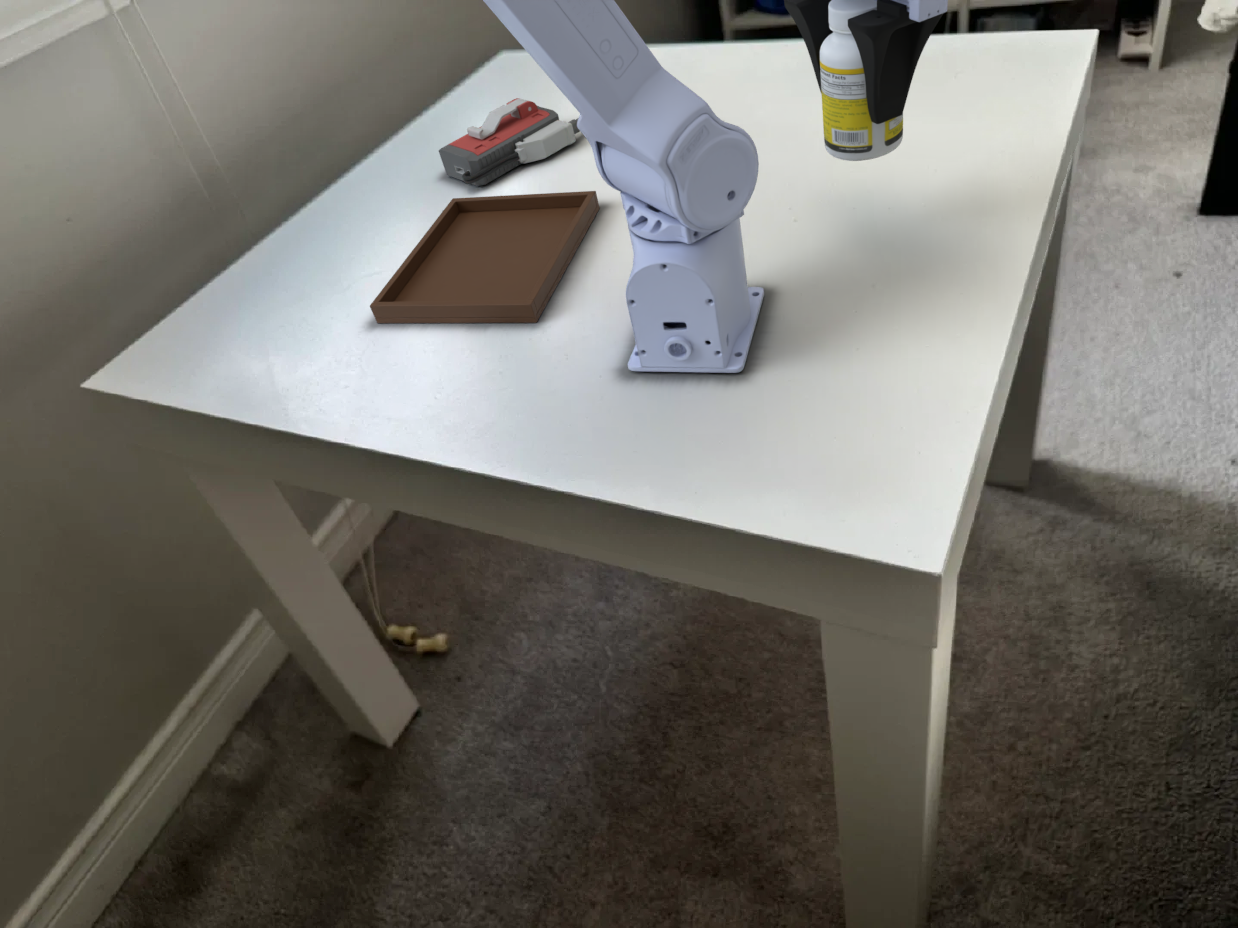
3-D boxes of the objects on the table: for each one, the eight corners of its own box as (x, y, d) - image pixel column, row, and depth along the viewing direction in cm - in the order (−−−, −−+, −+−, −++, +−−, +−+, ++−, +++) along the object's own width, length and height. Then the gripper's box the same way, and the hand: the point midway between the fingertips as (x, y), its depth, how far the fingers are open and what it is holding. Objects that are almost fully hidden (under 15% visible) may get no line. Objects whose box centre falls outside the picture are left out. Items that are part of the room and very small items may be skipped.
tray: (536, 322, 69) (530, 304, 68) (377, 323, 73) (369, 305, 72) (599, 207, 80) (595, 190, 79) (458, 214, 85) (452, 197, 84)
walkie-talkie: (484, 199, 86) (633, 112, 94) (470, 155, 83) (625, 69, 91) (434, 180, 91) (578, 99, 99) (419, 138, 88) (569, 58, 96)
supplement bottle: (885, 121, 66) (886, -23, 59) (915, 150, 62) (919, -1, 55) (813, 140, 66) (806, -2, 60) (838, 170, 62) (833, 22, 56)
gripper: (1000, -130, 48) (981, 116, 58) (845, -152, 59) (850, 60, 68) (889, -91, 47) (887, 154, 56) (751, -120, 58) (769, 91, 67)
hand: (861, 105), depth 62 cm, fingers closed on supplement bottle, 5 cm apart
